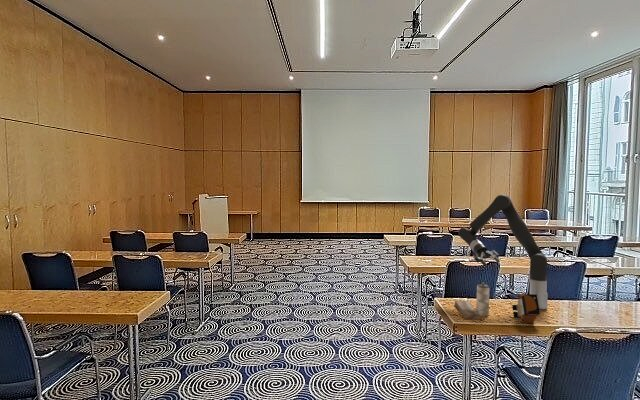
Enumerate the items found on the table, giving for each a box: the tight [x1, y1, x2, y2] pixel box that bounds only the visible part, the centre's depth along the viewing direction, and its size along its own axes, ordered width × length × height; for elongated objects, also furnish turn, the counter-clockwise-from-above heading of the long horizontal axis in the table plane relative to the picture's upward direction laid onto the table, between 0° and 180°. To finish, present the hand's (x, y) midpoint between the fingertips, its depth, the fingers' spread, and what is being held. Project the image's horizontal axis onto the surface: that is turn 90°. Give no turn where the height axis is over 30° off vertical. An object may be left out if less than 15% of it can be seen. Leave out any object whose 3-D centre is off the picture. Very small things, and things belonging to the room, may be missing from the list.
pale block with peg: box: [475, 282, 490, 317], centre depth 247 cm, size 6×6×18 cm
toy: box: [511, 293, 541, 324], centre depth 235 cm, size 16×6×20 cm
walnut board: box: [454, 300, 481, 321], centre depth 252 cm, size 8×30×3 cm, turn 173°
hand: (492, 263), depth 257 cm, fingers open, 8 cm apart
